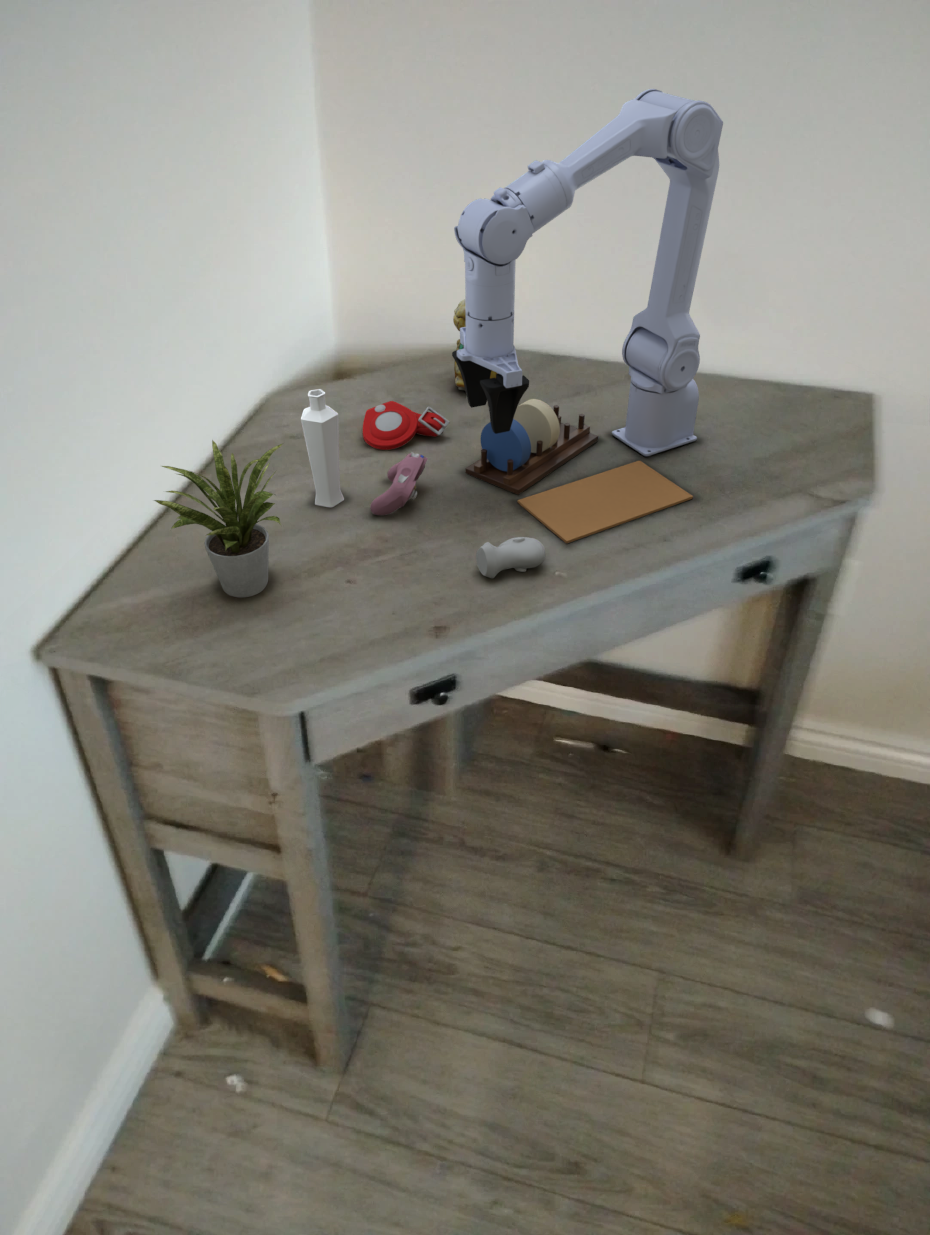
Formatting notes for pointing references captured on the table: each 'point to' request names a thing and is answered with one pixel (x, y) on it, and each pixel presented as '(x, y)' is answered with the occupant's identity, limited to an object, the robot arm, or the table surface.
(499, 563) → the smooth white sculpture
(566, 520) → the mat
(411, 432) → the tracker holder
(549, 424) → the cream disc
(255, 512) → the house plant
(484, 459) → the rack
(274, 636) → the table surface
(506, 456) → the blue disc
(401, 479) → the video game controller
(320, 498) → the white faceted vase
